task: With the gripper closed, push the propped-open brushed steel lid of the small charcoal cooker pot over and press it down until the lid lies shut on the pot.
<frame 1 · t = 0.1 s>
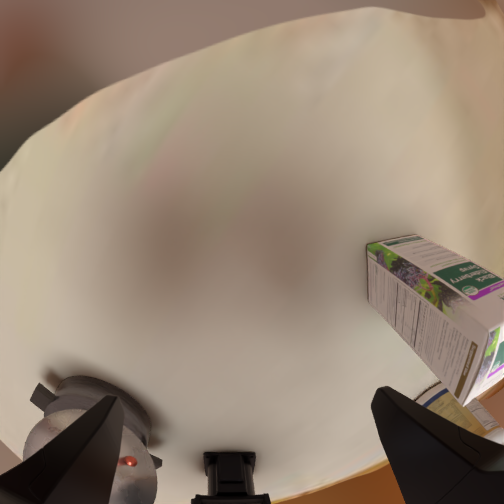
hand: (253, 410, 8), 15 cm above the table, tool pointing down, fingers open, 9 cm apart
cooker lid: (92, 476, 15), point 11 cm above the table, hinge at 60.0°
supplement tub: (428, 407, 32), on the table
cooker pot: (102, 413, 26), on the table
syrup box: (392, 268, 24), on the table
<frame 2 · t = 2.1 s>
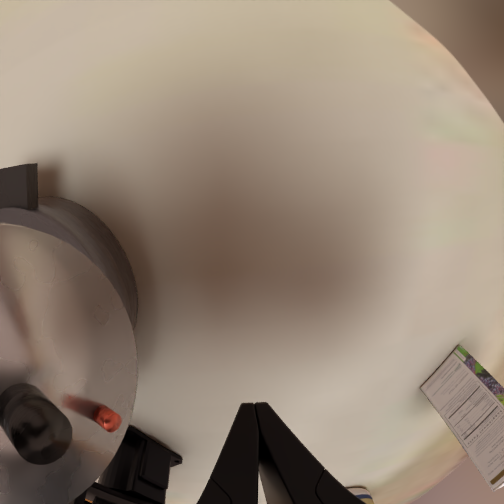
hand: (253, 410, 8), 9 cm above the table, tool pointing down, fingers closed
cooker lid: (26, 416, 6), point 11 cm above the table, hinge at 60.0°
supplement tub: (329, 501, 29), on the table
cooker pot: (57, 288, 16), on the table
syrup box: (446, 374, 22), on the table
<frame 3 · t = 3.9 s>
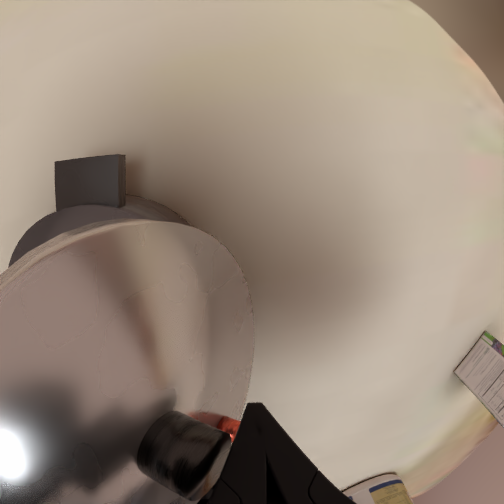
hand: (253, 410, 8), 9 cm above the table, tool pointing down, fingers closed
cooker lid: (172, 448, 7), point 11 cm above the table, hinge at 58.3°, touching gripper
supplement tub: (362, 490, 30), on the table
cooker pot: (124, 295, 16), on the table
syrup box: (473, 358, 23), on the table
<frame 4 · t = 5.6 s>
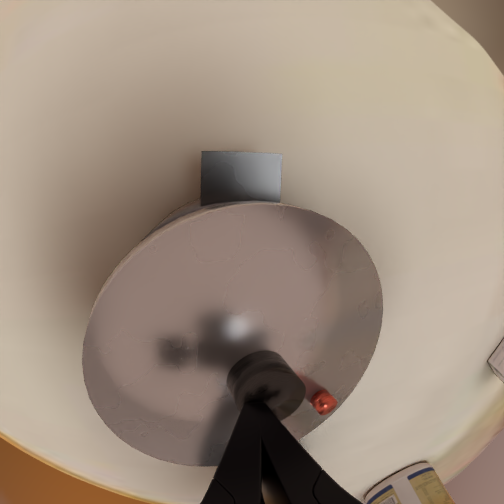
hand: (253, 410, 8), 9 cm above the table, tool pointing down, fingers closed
cooker lid: (259, 380, 10), point 8 cm above the table, hinge at 15.4°, touching gripper
supplement tub: (396, 480, 30), on the table
cooker pot: (233, 296, 17), on the table
syrup box: (502, 349, 24), on the table
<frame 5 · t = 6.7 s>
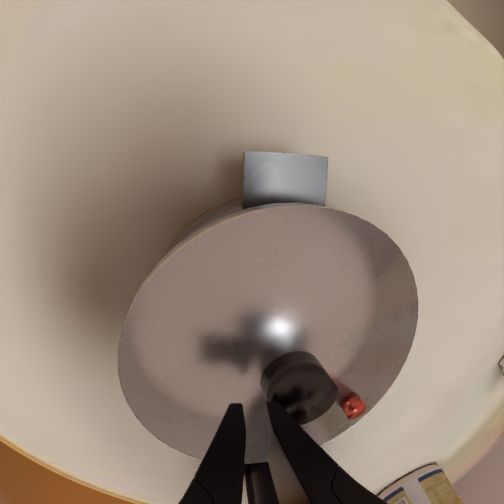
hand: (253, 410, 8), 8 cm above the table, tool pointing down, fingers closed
cooker lid: (293, 381, 10), point 7 cm above the table, hinge at 7.7°, touching gripper
supplement tub: (406, 482, 29), on the table
cooker pot: (262, 302, 16), on the table
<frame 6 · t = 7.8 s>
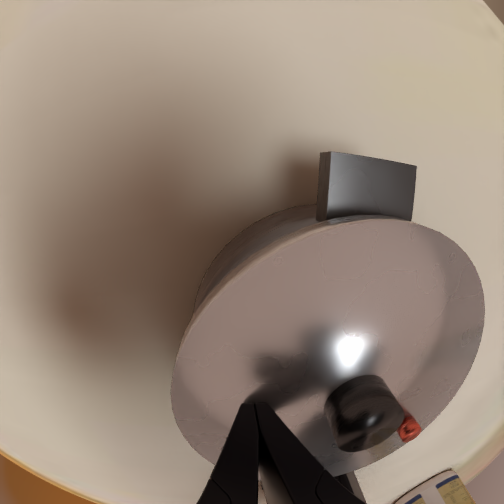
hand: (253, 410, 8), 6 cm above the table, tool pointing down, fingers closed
cooker lid: (358, 405, 8), point 6 cm above the table, hinge at -0.5°, touching cooker pot, gripper
supplement tub: (422, 489, 27), on the table
cooker pot: (314, 324, 14), on the table
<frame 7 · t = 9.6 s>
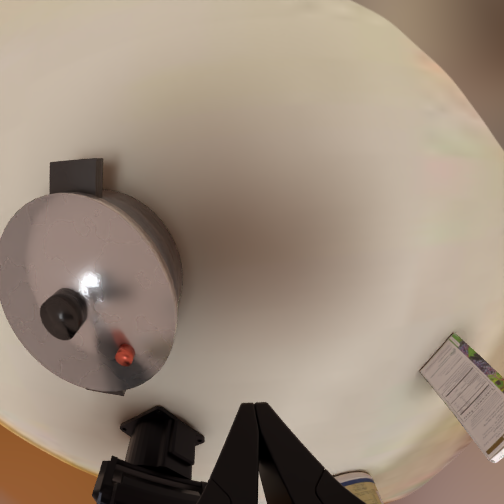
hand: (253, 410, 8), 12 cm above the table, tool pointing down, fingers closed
cooker lid: (67, 309, 13), point 6 cm above the table, hinge at -0.5°, touching cooker pot
supplement tub: (333, 487, 32), on the table
cooker pot: (103, 273, 19), on the table
syrup box: (442, 360, 26), on the table
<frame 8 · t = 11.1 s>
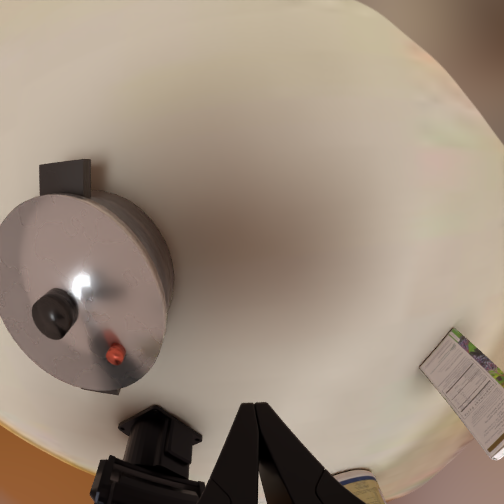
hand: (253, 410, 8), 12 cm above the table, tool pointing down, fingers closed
cooker lid: (58, 309, 13), point 6 cm above the table, hinge at -0.5°, touching cooker pot
supplement tub: (335, 485, 32), on the table
cooker pot: (96, 273, 19), on the table
syrup box: (442, 356, 25), on the table
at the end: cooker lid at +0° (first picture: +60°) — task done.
